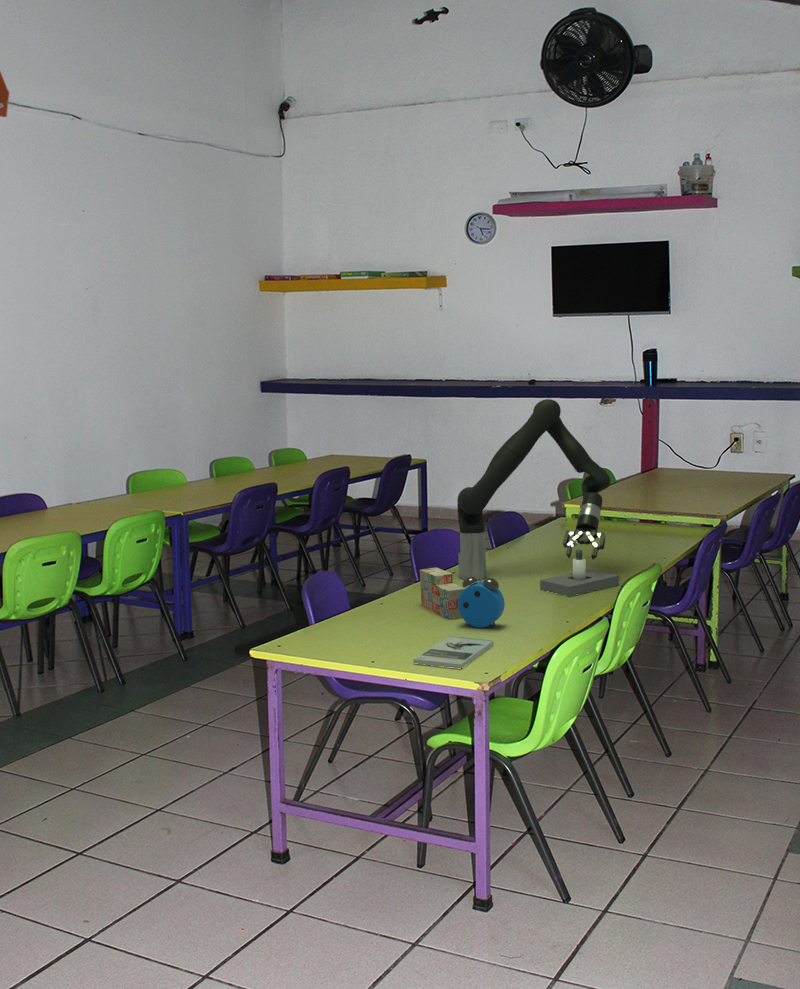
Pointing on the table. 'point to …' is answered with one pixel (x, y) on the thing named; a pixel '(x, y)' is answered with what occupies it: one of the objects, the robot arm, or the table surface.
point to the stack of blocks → (440, 592)
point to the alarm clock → (480, 602)
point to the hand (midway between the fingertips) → (580, 557)
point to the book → (453, 652)
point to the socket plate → (579, 583)
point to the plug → (579, 566)
